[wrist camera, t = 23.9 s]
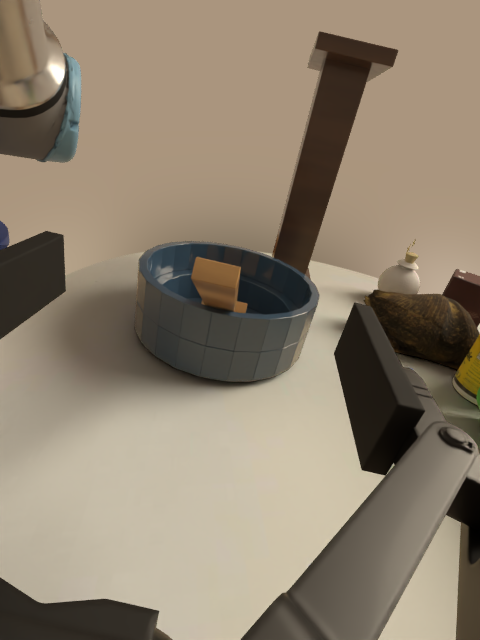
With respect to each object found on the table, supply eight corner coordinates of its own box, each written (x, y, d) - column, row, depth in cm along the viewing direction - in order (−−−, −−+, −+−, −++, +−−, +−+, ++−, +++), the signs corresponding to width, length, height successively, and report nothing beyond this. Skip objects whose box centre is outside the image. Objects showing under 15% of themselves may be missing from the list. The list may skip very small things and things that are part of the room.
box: (471, 337, 51) (499, 292, 47) (428, 319, 54) (452, 275, 50) (474, 324, 56) (499, 282, 52) (434, 308, 58) (456, 267, 55)
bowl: (102, 310, 37) (103, 247, 34) (225, 286, 49) (235, 237, 46) (207, 415, 27) (224, 340, 24) (329, 352, 39) (352, 296, 36)
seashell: (468, 339, 49) (502, 301, 44) (487, 390, 42) (530, 351, 38) (353, 307, 50) (374, 266, 45) (354, 352, 43) (378, 309, 38)
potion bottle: (373, 303, 55) (400, 241, 50) (370, 286, 61) (394, 230, 56) (412, 314, 54) (443, 252, 49) (405, 296, 60) (432, 240, 56)
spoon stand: (310, 308, 48) (398, 49, 35) (253, 295, 48) (319, 31, 34) (305, 276, 59) (371, 69, 45) (258, 265, 59) (310, 54, 45)
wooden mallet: (254, 293, 18) (262, 260, 18) (171, 273, 18) (180, 241, 18) (241, 325, 39) (245, 309, 39) (203, 316, 39) (207, 300, 39)
